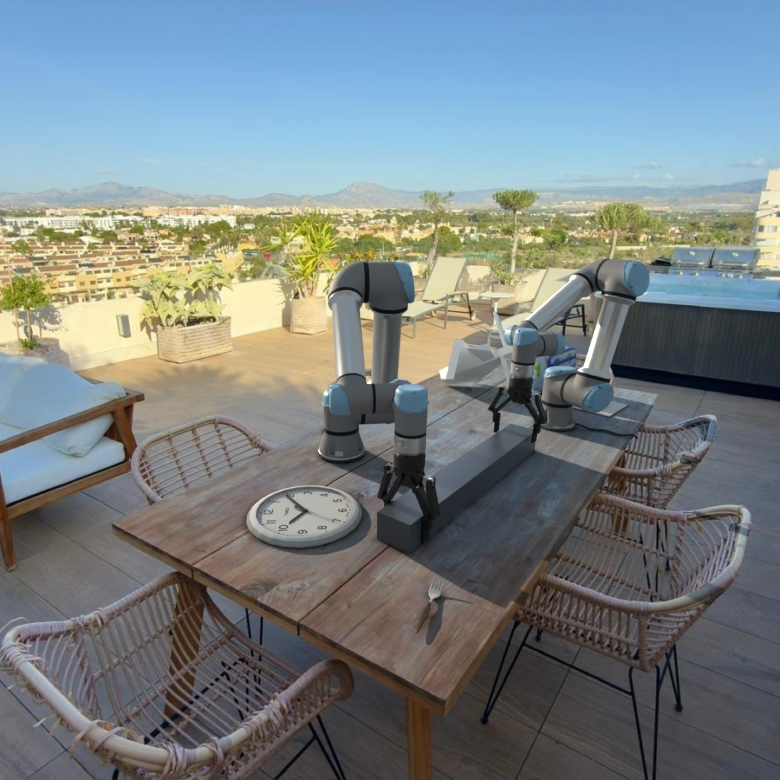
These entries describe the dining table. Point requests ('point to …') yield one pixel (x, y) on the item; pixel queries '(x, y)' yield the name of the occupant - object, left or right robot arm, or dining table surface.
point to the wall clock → (304, 516)
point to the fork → (433, 594)
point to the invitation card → (610, 408)
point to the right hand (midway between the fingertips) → (514, 436)
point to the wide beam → (455, 486)
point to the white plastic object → (476, 360)
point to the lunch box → (551, 365)
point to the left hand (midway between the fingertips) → (407, 532)
